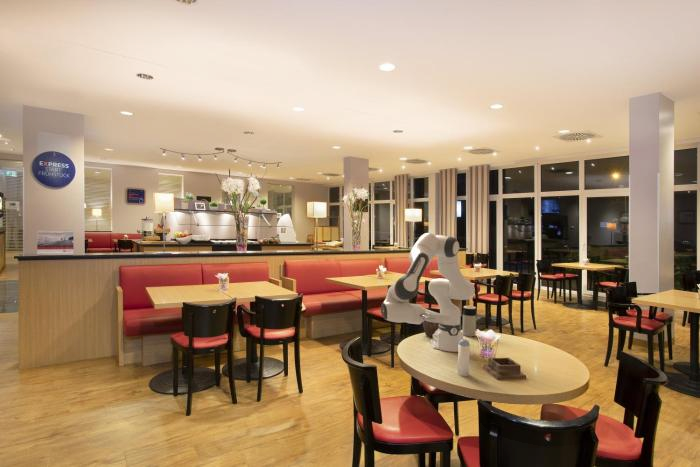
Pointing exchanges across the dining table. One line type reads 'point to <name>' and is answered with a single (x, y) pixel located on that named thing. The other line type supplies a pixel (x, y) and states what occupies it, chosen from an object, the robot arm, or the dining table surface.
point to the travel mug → (469, 321)
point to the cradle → (504, 369)
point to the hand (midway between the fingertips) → (444, 316)
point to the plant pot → (431, 324)
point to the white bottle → (463, 357)
